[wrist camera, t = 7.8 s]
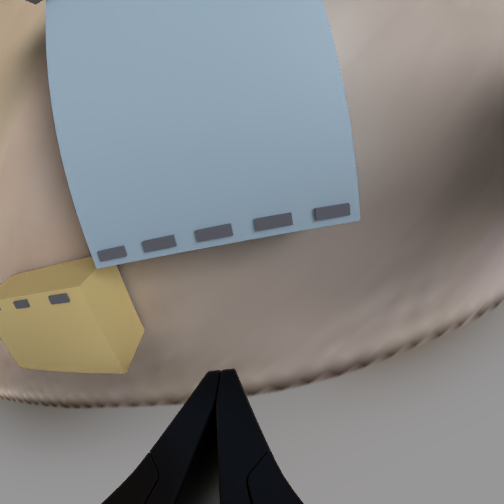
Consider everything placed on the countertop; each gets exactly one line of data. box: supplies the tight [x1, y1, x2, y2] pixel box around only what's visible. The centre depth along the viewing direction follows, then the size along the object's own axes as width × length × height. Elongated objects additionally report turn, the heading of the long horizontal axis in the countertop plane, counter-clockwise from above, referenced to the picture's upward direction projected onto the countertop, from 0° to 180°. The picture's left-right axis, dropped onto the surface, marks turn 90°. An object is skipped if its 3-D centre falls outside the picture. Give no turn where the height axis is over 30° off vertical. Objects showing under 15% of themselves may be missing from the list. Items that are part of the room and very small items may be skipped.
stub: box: [0, 256, 145, 374], centre depth 13 cm, size 9×5×4 cm, turn 101°
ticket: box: [26, 0, 360, 269], centre depth 8 cm, size 11×14×4 cm
